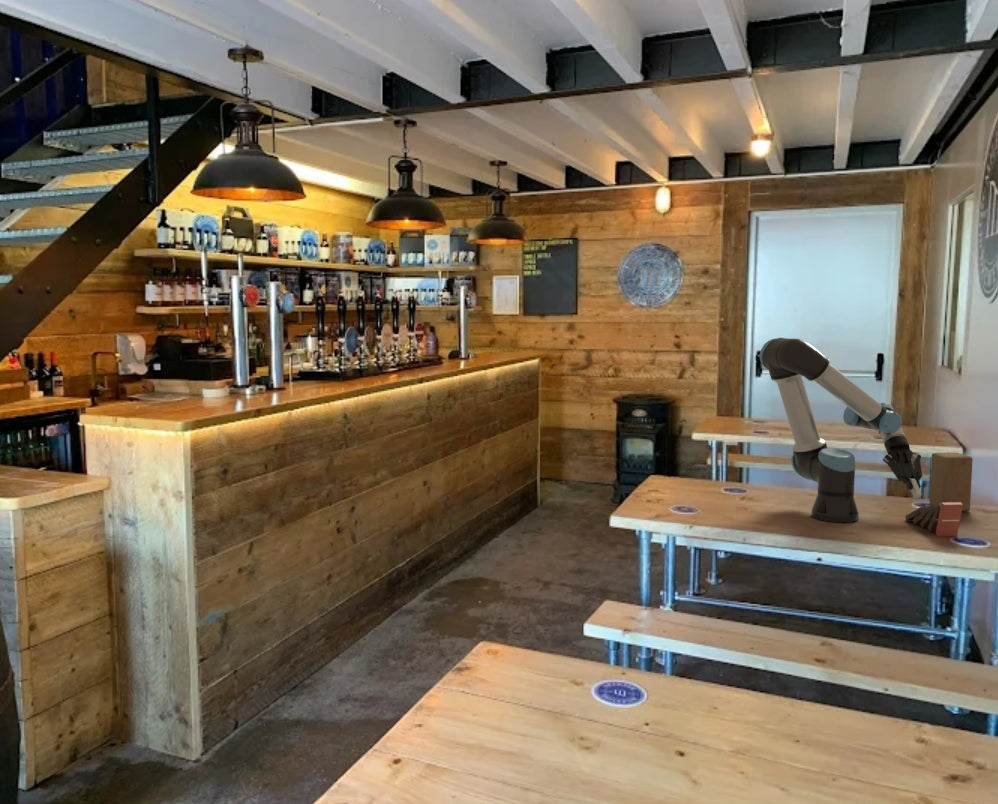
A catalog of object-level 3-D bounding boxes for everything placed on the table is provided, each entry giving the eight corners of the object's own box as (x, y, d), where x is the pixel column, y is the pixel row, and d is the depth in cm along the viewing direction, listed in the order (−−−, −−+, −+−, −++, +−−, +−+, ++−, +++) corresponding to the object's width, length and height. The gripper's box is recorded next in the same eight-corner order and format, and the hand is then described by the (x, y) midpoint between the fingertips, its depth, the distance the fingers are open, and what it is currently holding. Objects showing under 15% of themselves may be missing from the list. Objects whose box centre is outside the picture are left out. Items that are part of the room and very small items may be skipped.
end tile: (935, 533, 252) (941, 502, 248) (954, 533, 252) (960, 502, 248) (938, 536, 250) (944, 504, 247) (957, 535, 250) (963, 504, 247)
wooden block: (971, 512, 280) (974, 456, 278) (942, 512, 280) (945, 457, 278) (955, 505, 290) (958, 452, 288) (928, 505, 290) (930, 452, 288)
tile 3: (919, 523, 261) (933, 505, 253) (937, 523, 261) (952, 504, 253) (921, 528, 260) (935, 509, 251) (939, 528, 260) (954, 509, 252)
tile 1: (904, 516, 270) (920, 506, 260) (922, 515, 270) (938, 506, 260) (906, 520, 269) (921, 511, 259) (923, 520, 269) (939, 511, 259)
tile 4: (927, 528, 256) (938, 503, 250) (945, 528, 256) (956, 502, 250) (929, 532, 255) (940, 506, 249) (948, 531, 255) (959, 506, 249)
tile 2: (912, 519, 265) (927, 506, 256) (930, 519, 265) (945, 506, 256) (913, 524, 264) (929, 511, 255) (931, 524, 264) (947, 511, 255)
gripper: (908, 446, 286) (932, 502, 271) (872, 447, 285) (894, 502, 270) (917, 434, 280) (941, 490, 265) (880, 434, 280) (903, 491, 265)
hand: (918, 496), depth 268 cm, fingers closed
